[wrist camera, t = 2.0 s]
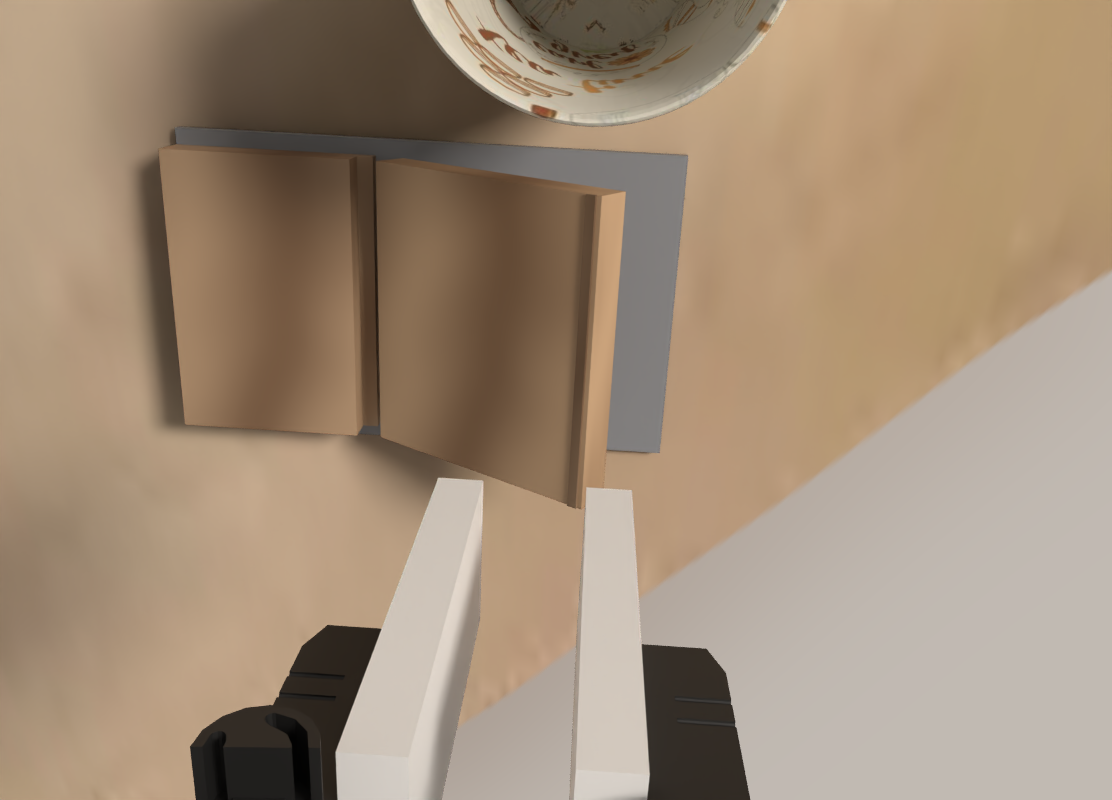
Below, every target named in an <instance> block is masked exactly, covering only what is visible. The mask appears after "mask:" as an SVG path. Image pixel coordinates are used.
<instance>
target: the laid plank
mask: <svg viewBox="0 0 1112 800" xmlns="http://www.w3.org/2000/svg"><path fill="white" fill-rule="evenodd" d="M158 151H159V162H160V172H161V182H162V192H163V203H164V213H165V223H166V233H167V244H168V254H169V264H170V275H171V285H172V295H173V305H174V316H175V326H176V336H177V347H178V357H179V367H180V377H181V388H182V398H183V408H184V418H185V425H200V426H216V427H231V428H247V429H262V430H278V431H293V432H309V433H325V434H340V435H356V436H357V435H358V433H359V431H360V430H361V428H362V427H363V425H366V426H378V425H379V423H380V377H379V321H378V265H377V209H376V155H359V154H342V153H324V152H306V151H289V150H271V149H253V148H236V147H218V146H200V145H183V144H175V145H171V146H167V147H163V148H159V149H158Z"/></svg>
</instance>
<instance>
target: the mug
mask: <svg viewBox="0 0 1112 800" xmlns="http://www.w3.org/2000/svg"><path fill="white" fill-rule="evenodd" d="M786 1H787V0H411V2H412V4H413V6H414V9H415V11H416V13H417V14H418V16H419V18H420V20H421V21H422V23H423V25H424V26H425V28H426V30H427V31H428V33H429V34H430V36H431V37H432V38H433V40H434V41H435V43H436V44H437V45H438V47H439V48H440V49H441V50H442V52H443V53H444V54H445V55H446V56H447V57H448V59H449V60H450V61H451V62H452V63H453V64H454V65H455V66H456V67H457V68H458V69H459V70H460V71H461V72H462V73H463V74H464V75H465V76H466V77H467V78H469V79H470V80H471V81H472V82H474V83H475V84H476V85H477V86H479V87H480V88H481V89H483V90H484V91H485V92H487V93H489V94H490V95H492V96H493V97H495V98H496V99H498V100H499V101H501V102H503V103H505V104H507V105H509V106H511V107H513V108H515V109H517V110H519V111H522V112H524V113H527V114H529V115H532V116H534V117H538V118H541V119H545V120H548V121H552V122H556V123H562V124H568V125H573V126H588V127H604V126H618V125H625V124H632V123H636V122H640V121H645V120H649V119H652V118H655V117H658V116H661V115H664V114H667V113H669V112H672V111H674V110H676V109H678V108H680V107H682V106H685V105H687V104H689V103H690V102H692V101H694V100H695V99H697V98H699V97H701V96H702V95H704V94H706V93H707V92H708V91H710V90H711V89H713V88H714V87H715V86H717V85H718V84H720V83H721V82H722V81H723V80H725V79H726V78H727V77H728V76H729V75H730V74H731V73H733V72H734V71H735V70H736V69H737V68H738V67H739V66H740V65H741V64H742V63H743V62H744V61H745V60H746V59H747V58H748V57H749V56H750V55H751V53H752V52H753V51H754V50H755V49H756V47H757V46H758V45H759V44H760V42H761V41H762V40H763V39H764V37H765V36H766V35H767V33H768V32H769V30H770V29H771V27H772V25H773V24H774V22H775V21H776V19H777V18H778V16H779V14H780V12H781V11H782V9H783V7H784V5H785V3H786Z"/></svg>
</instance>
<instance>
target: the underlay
mask: <svg viewBox="0 0 1112 800" xmlns="http://www.w3.org/2000/svg"><path fill="white" fill-rule="evenodd" d="M175 135H176V144H183V145H200V146H218V147H236V148H253V149H271V150H289V151H306V152H324V153H342V154H359V155H376V161H381V160H391V159H400V158H406V159H412V160H419V161H426V162H432V163H439V164H446V165H452V166H459V167H466V168H472V169H479V170H486V171H492V172H499V173H506V174H512V175H519V176H526V177H532V178H539V179H546V180H552V181H559V182H566V183H572V184H579V185H586V186H592V187H599V188H606V189H612V190H619V191H626V196H625V210H624V223H623V236H622V250H621V263H620V276H619V290H618V303H617V317H616V330H615V343H614V357H613V370H612V383H611V397H610V410H609V423H608V437H607V450H620V451H636V452H651V453H660V443H661V432H662V422H663V412H664V401H665V391H666V381H667V370H668V360H669V350H670V339H671V329H672V319H673V308H674V298H675V288H676V277H677V267H678V257H679V246H680V236H681V226H682V215H683V205H684V195H685V184H686V174H687V164H688V155H679V154H661V153H643V152H625V151H608V150H590V149H572V148H554V147H536V146H518V145H501V144H483V143H465V142H447V141H429V140H411V139H394V138H376V137H358V136H340V135H322V134H304V133H287V132H269V131H251V130H233V129H215V128H197V127H176V128H175ZM376 209H377V201H376ZM377 265H378V257H377ZM378 321H379V313H378ZM379 377H380V369H379ZM358 434H371V435H381V425H380V423H379V425H378V426H366V425H363V427H362V428H361V430H360V431H359V433H358Z"/></svg>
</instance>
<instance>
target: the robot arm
mask: <svg viewBox="0 0 1112 800" xmlns="http://www.w3.org/2000/svg"><path fill="white" fill-rule="evenodd" d="M482 515H483V481H482V480H467V479H451V478H438V480H437V483H436V485H435V488H434V491H433V493H432V496H431V499H430V501H429V504H428V507H427V509H426V512H425V515H424V517H423V520H422V523H421V525H420V528H419V531H418V533H417V536H416V539H415V541H414V544H413V547H412V549H411V552H410V555H409V557H408V560H407V563H406V565H405V568H404V571H403V573H402V576H401V579H400V581H399V584H398V587H397V589H396V592H395V595H394V597H393V600H392V603H391V605H390V608H389V611H388V613H387V616H386V619H385V621H384V624H383V627H382V629H377V628H362V627H348V626H334V625H327V626H326V627H325V628H324V629H322V630H321V631H320V632H319V633H317V634H316V635H315V636H314V637H313V638H311V639H310V640H309V641H308V642H307V643H305V644H304V645H303V646H302V648H301V650H300V652H299V654H298V656H297V658H296V660H295V662H294V664H293V666H292V668H291V670H290V674H289V676H287V678H286V680H285V682H284V684H283V686H282V688H281V690H280V692H279V698H278V697H277V698H276V700H275V702H274V704H273V705H268V706H259V707H250V708H244V709H242V710H239V711H236V712H233V713H231V714H228V715H225V716H222V717H221V718H219V719H218V720H216V721H215V722H213V723H212V724H211V725H209V726H208V727H206V728H205V729H203V730H202V731H201V733H200V734H199V735H198V737H197V738H196V740H195V741H194V742H193V744H192V745H191V746H190V750H191V759H192V768H193V777H194V786H195V796H196V800H442V795H443V791H444V786H445V781H446V777H447V772H448V767H449V763H450V758H451V753H452V749H453V744H454V738H455V734H456V730H457V725H458V720H459V716H460V711H461V706H462V701H463V697H464V692H465V687H466V683H467V678H468V673H469V668H470V664H471V659H472V654H473V650H474V645H475V640H476V635H477V631H478V626H479V621H480V597H481V556H482ZM569 800H750V796H749V791H748V786H747V781H746V775H745V770H744V765H743V760H742V755H741V749H740V744H739V739H738V734H737V728H736V727H735V718H734V713H733V708H732V705H731V697H730V692H729V687H728V681H727V677H726V673H725V672H724V670H723V669H722V668H721V666H720V665H719V664H718V663H717V661H716V660H715V659H714V658H713V657H712V655H711V654H710V653H709V652H708V650H707V649H701V648H687V647H672V646H658V645H644V644H641V630H640V613H639V597H638V581H637V565H636V549H635V533H634V517H633V501H632V490H620V489H605V488H589V487H586V502H585V517H584V531H583V546H582V561H581V576H580V591H579V605H578V620H577V640H576V662H575V685H574V708H573V729H572V751H571V774H570V796H569Z"/></svg>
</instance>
